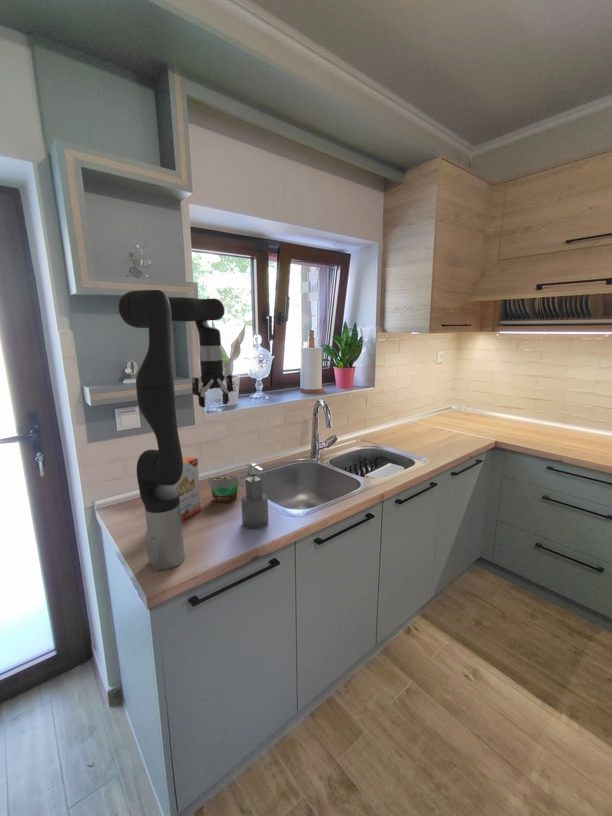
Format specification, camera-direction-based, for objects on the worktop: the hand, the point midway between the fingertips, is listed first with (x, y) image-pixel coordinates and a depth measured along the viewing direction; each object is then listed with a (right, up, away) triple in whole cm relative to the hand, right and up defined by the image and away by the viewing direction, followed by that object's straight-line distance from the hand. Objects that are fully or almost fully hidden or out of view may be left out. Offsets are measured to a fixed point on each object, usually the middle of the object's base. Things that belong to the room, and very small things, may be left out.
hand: (214, 405), depth 128 cm
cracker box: (-13, -41, +3) cm, 42 cm away
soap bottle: (+15, -41, -1) cm, 43 cm away
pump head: (+16, -32, -4) cm, 36 cm away
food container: (+1, -38, +15) cm, 41 cm away
